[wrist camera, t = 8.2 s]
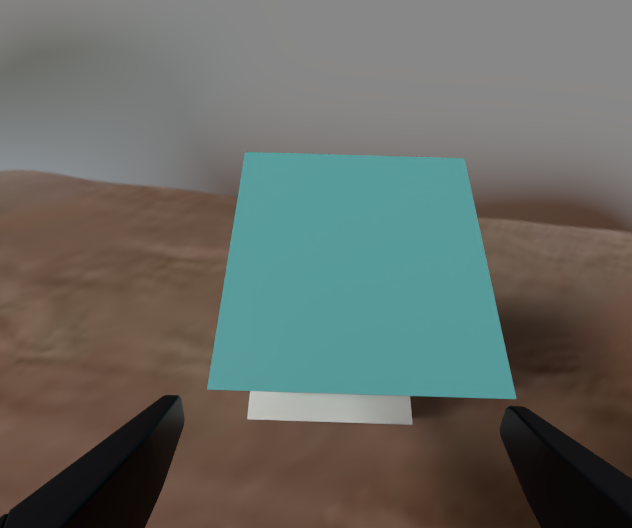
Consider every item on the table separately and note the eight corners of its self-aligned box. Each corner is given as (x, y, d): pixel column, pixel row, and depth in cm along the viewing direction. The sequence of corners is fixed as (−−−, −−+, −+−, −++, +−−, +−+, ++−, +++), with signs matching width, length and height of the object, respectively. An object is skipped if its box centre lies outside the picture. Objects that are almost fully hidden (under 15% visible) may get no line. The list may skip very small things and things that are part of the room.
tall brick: (385, 395, 15) (516, 399, 5) (275, 391, 15) (207, 389, 5) (379, 290, 17) (463, 158, 7) (283, 287, 17) (245, 152, 8)
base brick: (396, 419, 17) (412, 424, 14) (257, 415, 17) (247, 419, 14) (387, 287, 20) (399, 271, 18) (270, 284, 20) (263, 266, 18)
